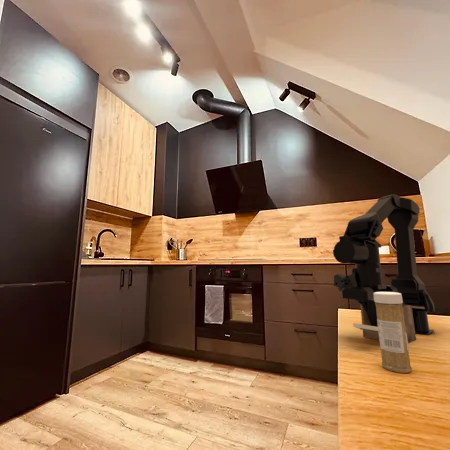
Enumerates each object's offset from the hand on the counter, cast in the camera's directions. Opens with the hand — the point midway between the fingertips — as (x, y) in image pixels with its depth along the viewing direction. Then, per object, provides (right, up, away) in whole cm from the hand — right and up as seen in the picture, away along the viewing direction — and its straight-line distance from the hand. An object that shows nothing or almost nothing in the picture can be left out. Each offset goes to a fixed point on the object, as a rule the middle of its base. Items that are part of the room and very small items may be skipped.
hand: (374, 327), depth 62 cm
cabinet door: (+3, -2, +2) cm, 4 cm away
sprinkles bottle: (-6, -1, -17) cm, 18 cm away
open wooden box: (+6, -4, +4) cm, 9 cm away
